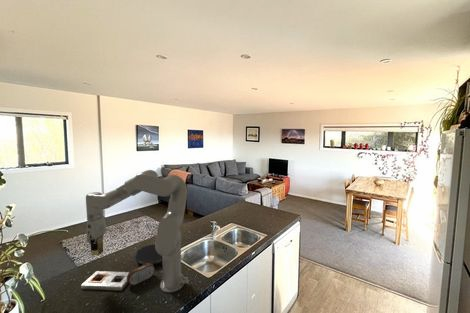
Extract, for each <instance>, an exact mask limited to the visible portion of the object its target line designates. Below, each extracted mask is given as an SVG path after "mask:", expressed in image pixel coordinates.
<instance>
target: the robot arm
mask: <svg viewBox="0 0 470 313" xmlns="http://www.w3.org/2000/svg"><path fill="white" fill-rule="evenodd" d="M142 192H144V193H148V194H150V195H155V196H159V197H168V196H170V197H169V201H168V206H167V211H166V213H165V215H164V216H163V217H161V219H160V221H159V223H158V226H157V230H156V236H155V243H154V244H155V249H156V252H157V253H158V254H159V255H161V256H162V262H161V263H162V280H161V281H160V284H159V286H160V289H161V291H162V292H164V293H175V292H177V291H179V290H181V289H182V288H183V286H184V285H185V284H186V285H189V283H190V279H189V278H188V276H184V274H183V273H182V254H181V253H182V233H181V230H180V229H179V228H180V227H181V225H182V224H183V222H184V217H185V216H184V215H185V209H186V204H187V198H188V186H187V184H186V182H185V181H184V179H183V178H182V177H180V176H179V175H177V174H170V175H168V176H166V177H164V178H160V177H159V175H158V173H157V171H155V170H153V169H148V170H145V171H142V172H140V173H138V174H137V173H136V175H135V176H134V177H131V178H130V179H127V180H126V181H124V184H123V185H121V186H119V187H117V188H115V189H113V190H110V191H108V192H106V193H101V192H98V191H95V192H89V193H87V194H86V195H85V208H86V229H85V230H86V231H85V232H86V241H85V242H86V243H89V244H90V252H91V251H97V243H96V239H97V238H98V237H100V236H103V237H104V235H105V233H107V223H106V222H107V221H106V218H105V215H104V210H107V209H110V208H111V207H113V206H115V205H117V204H119V203H121V202H123V201H124V200H126V199H128V198H130V197H132V196H136V195H138V194H139V193H142ZM92 239H94V241H93V240H92Z"/></svg>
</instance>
